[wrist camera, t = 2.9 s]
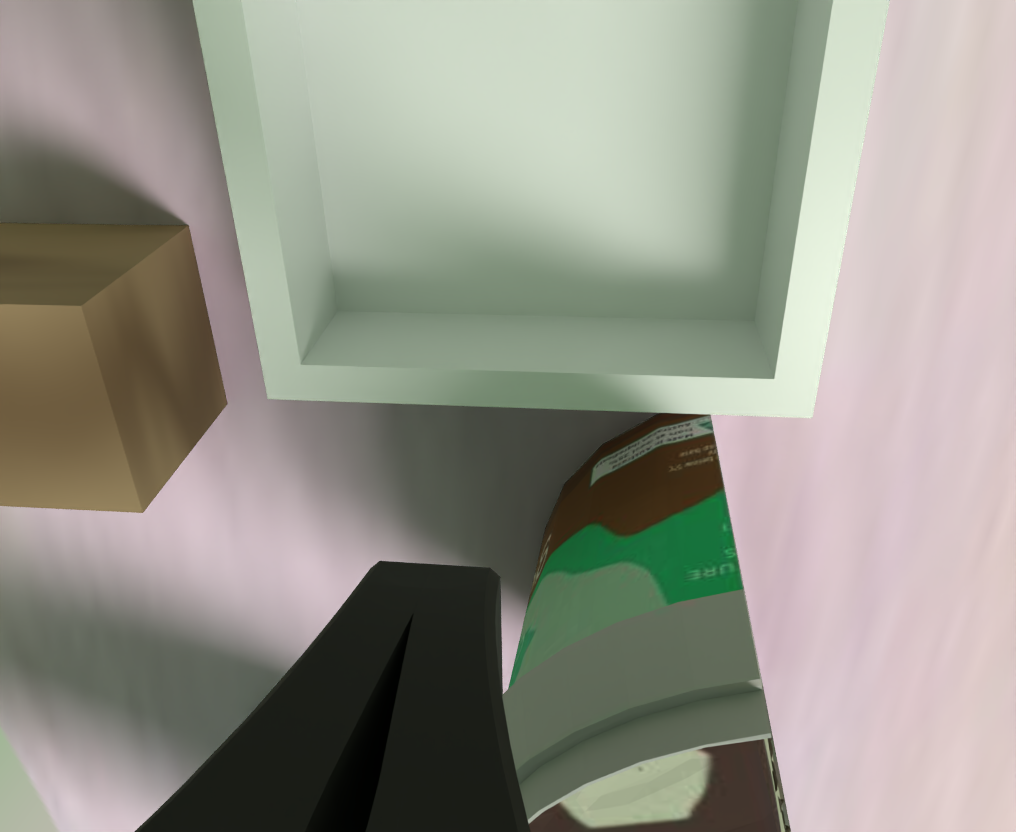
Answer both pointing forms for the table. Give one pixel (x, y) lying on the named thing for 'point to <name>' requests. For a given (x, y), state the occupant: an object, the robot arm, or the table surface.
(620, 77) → the counting tray
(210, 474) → the table surface
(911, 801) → the table surface
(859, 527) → the table surface
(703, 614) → the food container
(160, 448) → the walnut block
